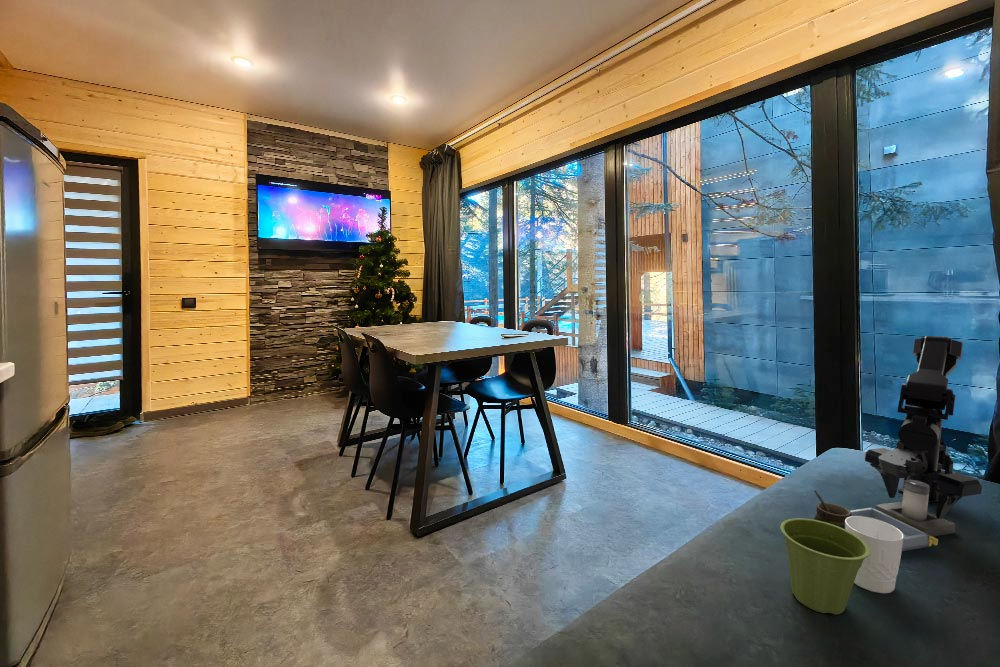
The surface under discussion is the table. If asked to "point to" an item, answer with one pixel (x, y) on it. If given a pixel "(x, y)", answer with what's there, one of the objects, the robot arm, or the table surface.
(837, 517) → the mate gourd
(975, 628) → the table surface
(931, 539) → the puller tool
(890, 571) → the white cup
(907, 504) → the cylinder
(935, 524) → the frame
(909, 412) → the robot arm
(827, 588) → the plant pot
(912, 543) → the tray
